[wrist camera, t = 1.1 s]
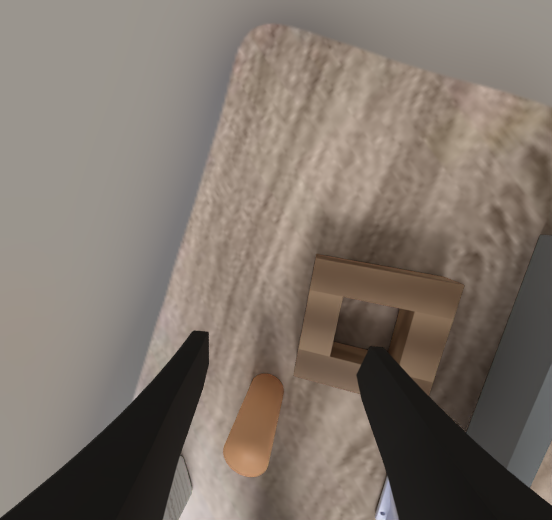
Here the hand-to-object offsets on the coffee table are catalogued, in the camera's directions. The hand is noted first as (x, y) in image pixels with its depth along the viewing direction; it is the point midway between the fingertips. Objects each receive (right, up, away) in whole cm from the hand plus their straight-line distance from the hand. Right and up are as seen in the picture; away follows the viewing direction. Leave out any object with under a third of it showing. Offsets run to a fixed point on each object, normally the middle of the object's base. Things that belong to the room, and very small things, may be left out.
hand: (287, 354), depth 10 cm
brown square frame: (+9, -2, +13) cm, 16 cm away
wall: (+21, -4, +11) cm, 24 cm away
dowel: (-2, -11, +16) cm, 20 cm away
